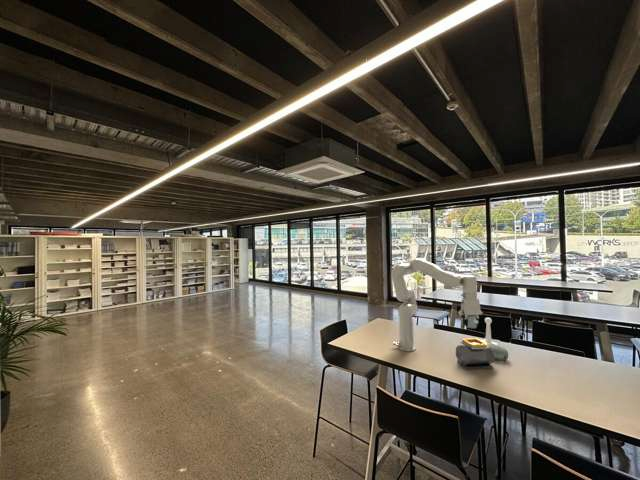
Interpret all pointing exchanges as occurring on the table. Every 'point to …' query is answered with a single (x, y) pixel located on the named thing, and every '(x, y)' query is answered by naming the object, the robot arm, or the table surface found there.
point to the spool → (499, 352)
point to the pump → (472, 321)
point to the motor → (474, 354)
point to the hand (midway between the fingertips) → (470, 325)
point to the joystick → (488, 333)
